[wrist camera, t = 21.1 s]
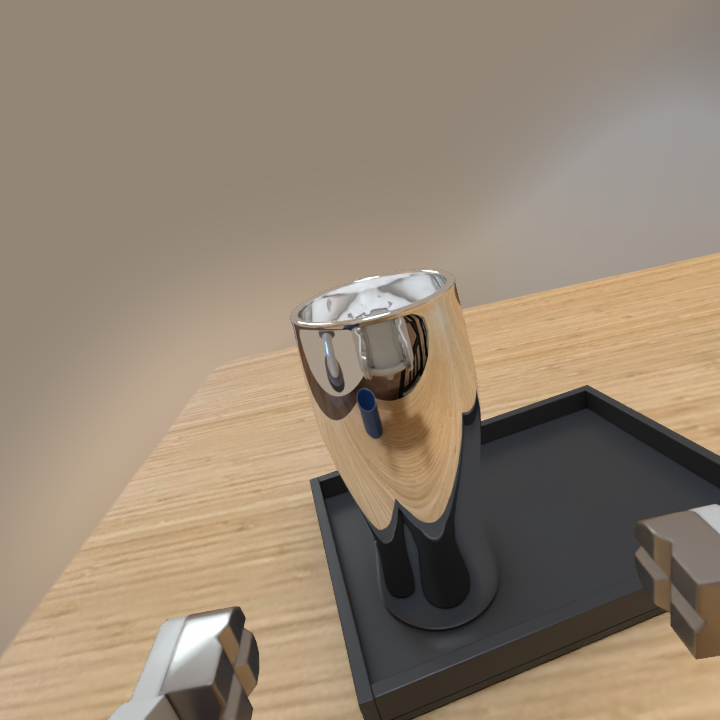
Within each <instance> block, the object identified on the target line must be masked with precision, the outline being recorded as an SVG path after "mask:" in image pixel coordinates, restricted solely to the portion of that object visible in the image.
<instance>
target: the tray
mask: <svg viewBox="0 0 720 720" xmlns="http://www.w3.org/2000/svg"><path fill="white" fill-rule="evenodd" d="M310 484H311V489H312V494H313V498H314V503H315V507H316V512H317V516H318V521H319V526H320V530H321V535H322V539H323V544H324V548H325V553H326V558H327V562H328V567H329V571H330V576H331V580H332V585H333V590H334V594H335V599H336V603H337V608H338V612H339V617H340V622H341V626H342V631H343V635H344V640H345V644H346V649H347V654H348V658H349V663H350V667H351V672H352V676H353V681H354V686H355V690H356V695H357V699H358V704H359V707H360V710H361V712H362V715H363V718H364V720H409V719H411V718H414V717H416V716H418V715H421V714H423V713H426V712H428V711H430V710H433V709H435V708H437V707H440V706H442V705H444V704H447V703H449V702H452V701H454V700H456V699H459V698H461V697H463V696H466V695H468V694H470V693H473V692H475V691H478V690H480V689H482V688H485V687H487V686H489V685H492V684H494V683H497V682H499V681H501V680H504V679H506V678H508V677H511V676H513V675H515V674H518V673H520V672H523V671H525V670H527V669H530V668H532V667H534V666H537V665H539V664H542V663H544V662H546V661H549V660H551V659H553V658H556V657H558V656H560V655H563V654H565V653H568V652H570V651H572V650H575V649H577V648H579V647H582V646H584V645H587V644H589V643H591V642H594V641H596V640H598V639H601V638H603V637H605V636H608V635H610V634H613V633H615V632H617V631H620V630H622V629H624V628H627V627H629V626H631V625H634V624H636V623H639V622H641V621H643V620H646V619H648V618H650V617H653V616H655V615H658V614H660V613H662V612H665V611H666V610H664V609H662V608H661V607H659V606H657V605H655V604H654V602H653V601H652V600H651V598H650V597H649V595H648V594H647V593H646V591H645V589H644V587H643V585H642V584H641V582H640V579H639V576H638V573H637V570H636V567H635V553H636V551H637V550H638V549H639V547H640V546H641V544H640V543H639V542H638V541H637V539H636V538H635V537H634V526H635V524H636V522H637V521H640V520H644V519H649V518H653V517H658V516H662V515H667V514H671V513H676V512H680V511H685V510H686V511H688V510H690V509H694V508H699V507H703V506H708V505H713V504H717V505H719V506H720V456H719V455H717V454H715V453H713V452H711V451H709V450H707V449H706V448H704V447H702V446H700V445H698V444H696V443H694V442H693V441H691V440H689V439H687V438H685V437H683V436H681V435H679V434H678V433H676V432H674V431H672V430H670V429H668V428H666V427H665V426H663V425H661V424H659V423H657V422H655V421H653V420H652V419H650V418H648V417H646V416H644V415H642V414H640V413H639V412H637V411H635V410H633V409H631V408H629V407H627V406H625V405H624V404H622V403H620V402H618V401H616V400H614V399H612V398H611V397H609V396H607V395H605V394H603V393H601V392H599V391H598V390H596V389H594V388H592V387H590V386H588V385H586V386H583V387H581V388H577V389H574V390H571V391H568V392H566V393H563V394H560V395H557V396H554V397H551V398H548V399H545V400H542V401H539V402H536V403H533V404H530V405H528V406H525V407H522V408H519V409H516V410H513V411H510V412H507V413H504V414H501V415H498V416H495V417H492V418H490V419H487V420H484V421H481V452H480V476H479V508H480V517H481V521H482V525H483V529H484V532H485V535H486V537H487V540H488V542H489V544H490V546H491V549H492V551H493V553H494V556H495V558H496V561H497V564H498V569H499V583H498V588H497V591H496V594H495V596H494V598H493V600H492V602H491V603H490V604H489V606H488V607H487V608H486V609H485V610H484V611H483V612H482V613H481V614H480V615H479V616H477V617H476V618H474V619H473V620H471V621H469V622H467V623H465V624H463V625H460V626H457V627H454V628H449V629H443V630H428V629H422V628H417V627H414V626H411V625H409V624H407V623H405V622H403V621H401V620H400V619H398V618H397V617H396V616H394V615H393V614H392V613H391V612H390V611H389V609H388V608H387V607H386V605H385V604H384V602H383V600H382V598H381V596H380V592H379V588H378V582H377V570H376V553H375V547H374V543H373V539H372V536H371V534H370V531H369V529H368V526H367V524H366V522H365V520H364V518H363V516H362V514H361V512H360V511H359V509H358V507H357V505H356V503H355V502H354V500H353V498H352V496H351V494H350V493H349V491H348V489H347V487H346V485H345V483H344V482H343V480H342V478H341V476H340V474H339V472H338V471H335V472H332V473H329V474H326V475H323V476H320V477H317V478H314V479H311V480H310Z"/></svg>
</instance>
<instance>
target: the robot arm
mask: <svg viewBox="0 0 720 720" xmlns="http://www.w3.org/2000/svg"><path fill="white" fill-rule="evenodd" d="M634 537H635V538H636V539H637V541H638V542H639V543H640V544H641V546H640V547H639V549H638V550H637V551H636V553H635V567H636V570H637V573H638V576H639V579H640V582H641V584H642V585H643V587H644V589H645V591H646V593H647V594H648V595H649V597H650V598H651V600H652V601H653V602H654V604H655V605H657V606H659V607H661V608H662V609H664V610H666V611H668V612H670V613H671V627H672V628H673V630H674V631H675V632H676V634H677V635H678V636H679V638H680V639H681V640H682V642H683V643H684V644H685V646H686V647H687V648H688V650H689V651H690V652H691V654H692V655H693V656H694V658H695V659H702V658H708V657H714V656H720V506H719V505H717V504H713V505H708V506H703V507H699V508H694V509H690V510H688V511H686V510H685V511H680V512H676V513H671V514H667V515H662V516H658V517H653V518H649V519H644V520H640V521H637V522H636V524H635V526H634ZM245 619H246V618H245V616H244V614H243V612H242V610H241V608H240V607H236V606H235V607H229V608H224V609H218V610H213V611H207V612H202V613H196V614H191V615H188V616H182V617H177V618H171V619H167V620H166V621H165V622H164V623H163V624H162V625H161V627H160V629H159V631H158V634H157V636H156V639H155V641H154V644H153V646H152V649H151V651H150V653H149V656H148V658H147V661H146V663H145V666H144V668H143V671H142V673H141V675H140V678H139V680H138V683H137V685H136V688H135V690H134V693H133V695H132V697H131V700H130V702H127V703H123V704H121V706H120V707H119V708H118V709H117V710H116V711H115V712H114V713H113V714H112V715H111V716H110V717H109V719H108V720H251V717H252V711H253V708H252V706H251V703H250V701H249V699H248V696H249V695H250V694H251V692H252V691H253V689H254V688H255V687H256V685H257V681H258V674H259V651H258V647H257V643H256V640H255V638H254V635H253V633H252V632H250V631H248V630H246V629H245V628H244V623H245Z"/></svg>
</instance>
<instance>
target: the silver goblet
mask: <svg viewBox="0 0 720 720" xmlns="http://www.w3.org/2000/svg"><path fill="white" fill-rule="evenodd" d="M290 320H291V322H292V325H293V329H294V333H295V338H296V342H297V348H298V352H299V357H300V362H301V366H302V371H303V375H304V379H305V384H306V388H307V391H308V395H309V398H310V402H311V406H312V409H313V413H314V416H315V418H316V421H317V424H318V427H319V430H320V433H321V435H322V438H323V441H324V443H325V445H326V447H327V449H328V452H329V454H330V456H331V458H332V460H333V462H334V464H335V467H336V468H337V470H338V472H339V474H340V476H341V478H342V480H343V482H344V483H345V485H346V487H347V489H348V491H349V493H350V494H351V496H352V498H353V500H354V502H355V503H356V505H357V507H358V509H359V511H360V512H361V514H362V516H363V518H364V520H365V522H366V524H367V526H368V529H369V531H370V534H371V536H372V539H373V543H374V547H375V553H376V570H377V582H378V588H379V592H380V596H381V598H382V600H383V602H384V604H385V605H386V607H387V608H388V609H389V611H390V612H391V613H392V614H393V615H394V616H396V617H397V618H398V619H400V620H401V621H403V622H405V623H407V624H409V625H411V626H414V627H417V628H422V629H428V630H443V629H449V628H454V627H457V626H460V625H463V624H465V623H467V622H469V621H471V620H473V619H474V618H476V617H477V616H479V615H480V614H481V613H482V612H483V611H484V610H485V609H486V608H487V607H488V606H489V604H490V603H491V602H492V600H493V598H494V596H495V594H496V591H497V588H498V583H499V569H498V564H497V561H496V558H495V556H494V553H493V551H492V549H491V546H490V544H489V542H488V540H487V537H486V535H485V532H484V529H483V525H482V521H481V517H480V508H479V476H480V452H481V411H480V398H479V390H478V382H477V374H476V369H475V364H474V359H473V354H472V348H471V344H470V340H469V336H468V332H467V328H466V324H465V320H464V316H463V312H462V309H461V305H460V301H459V297H458V293H457V289H456V284H455V277H454V275H453V274H452V273H450V272H448V271H444V270H439V269H411V270H402V271H395V272H389V273H383V274H379V275H374V276H370V277H366V278H362V279H358V280H354V281H351V282H348V283H344V284H341V285H338V286H336V287H333V288H330V289H328V290H325V291H323V292H320V293H318V294H316V295H314V296H312V297H310V298H308V299H306V300H305V301H303V302H301V303H300V304H299V305H298V306H296V307H295V308H294V309H293V310H292V312H291V314H290Z"/></svg>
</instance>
